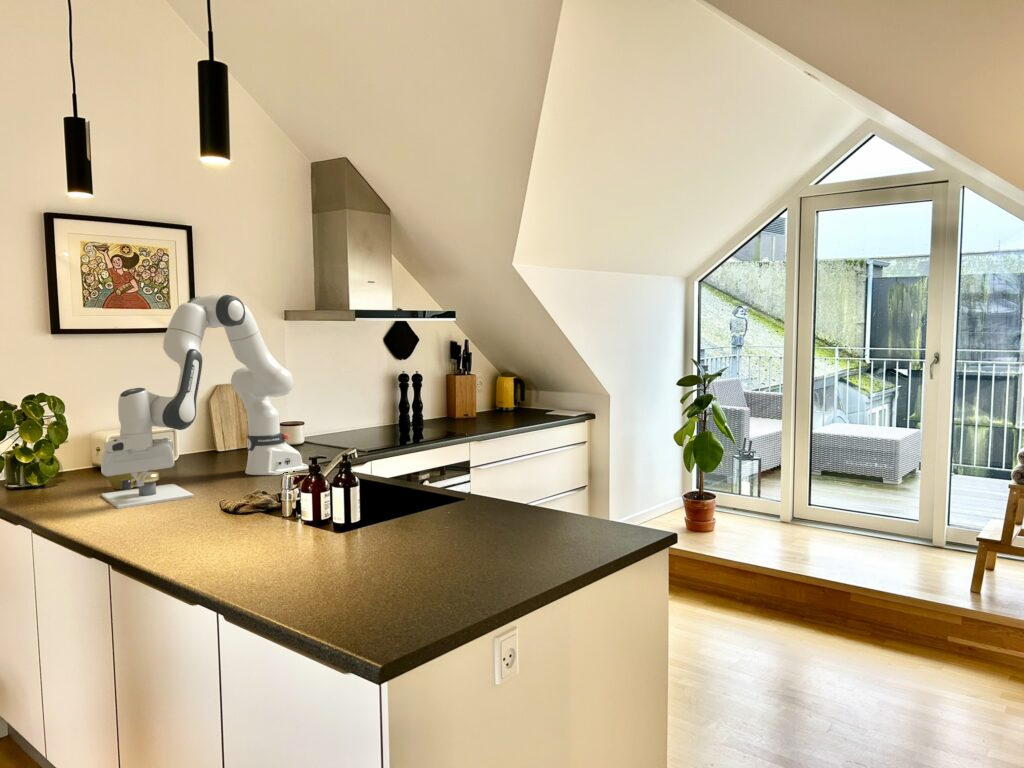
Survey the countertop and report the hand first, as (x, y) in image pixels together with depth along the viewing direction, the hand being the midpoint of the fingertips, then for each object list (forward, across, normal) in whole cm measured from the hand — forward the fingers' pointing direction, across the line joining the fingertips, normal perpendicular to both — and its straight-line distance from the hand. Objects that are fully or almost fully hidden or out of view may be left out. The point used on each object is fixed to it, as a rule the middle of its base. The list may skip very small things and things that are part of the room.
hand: (140, 485), depth 233 cm
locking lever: (0, 0, -4) cm, 4 cm away
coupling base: (+6, -4, -8) cm, 10 cm away
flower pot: (+6, -1, -27) cm, 28 cm away
